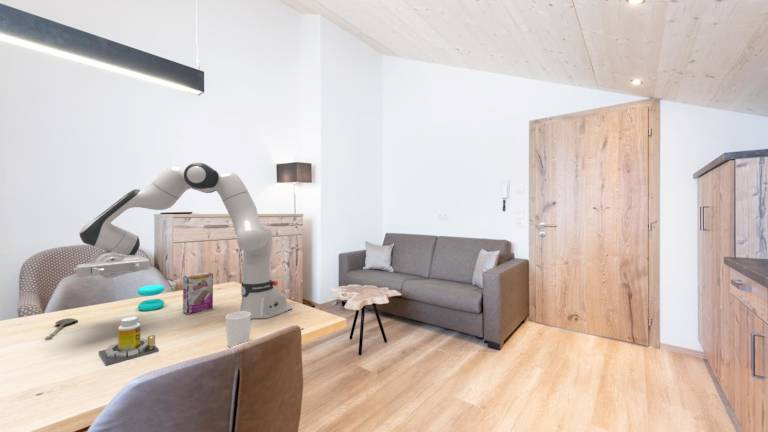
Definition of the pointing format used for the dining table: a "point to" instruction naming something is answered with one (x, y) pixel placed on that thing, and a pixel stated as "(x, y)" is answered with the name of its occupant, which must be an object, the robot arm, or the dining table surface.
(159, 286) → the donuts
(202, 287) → the candy bar box
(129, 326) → the supplement bottle
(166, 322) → the dining table surface
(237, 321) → the white cup
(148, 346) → the dock
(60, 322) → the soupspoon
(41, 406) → the dining table surface
